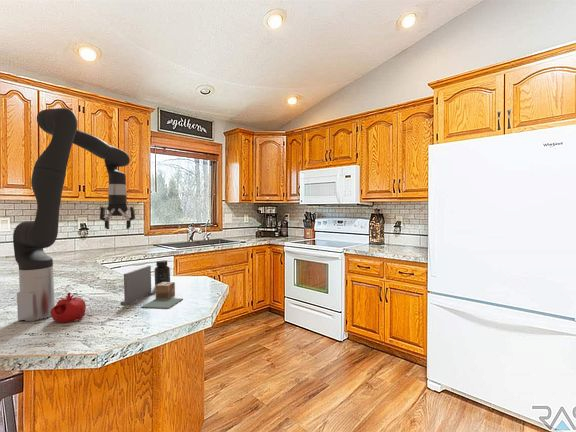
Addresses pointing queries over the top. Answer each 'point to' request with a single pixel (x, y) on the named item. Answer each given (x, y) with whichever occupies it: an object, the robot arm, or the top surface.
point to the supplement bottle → (162, 272)
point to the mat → (162, 303)
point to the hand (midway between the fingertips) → (117, 229)
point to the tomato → (68, 309)
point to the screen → (137, 285)
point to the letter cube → (165, 289)
